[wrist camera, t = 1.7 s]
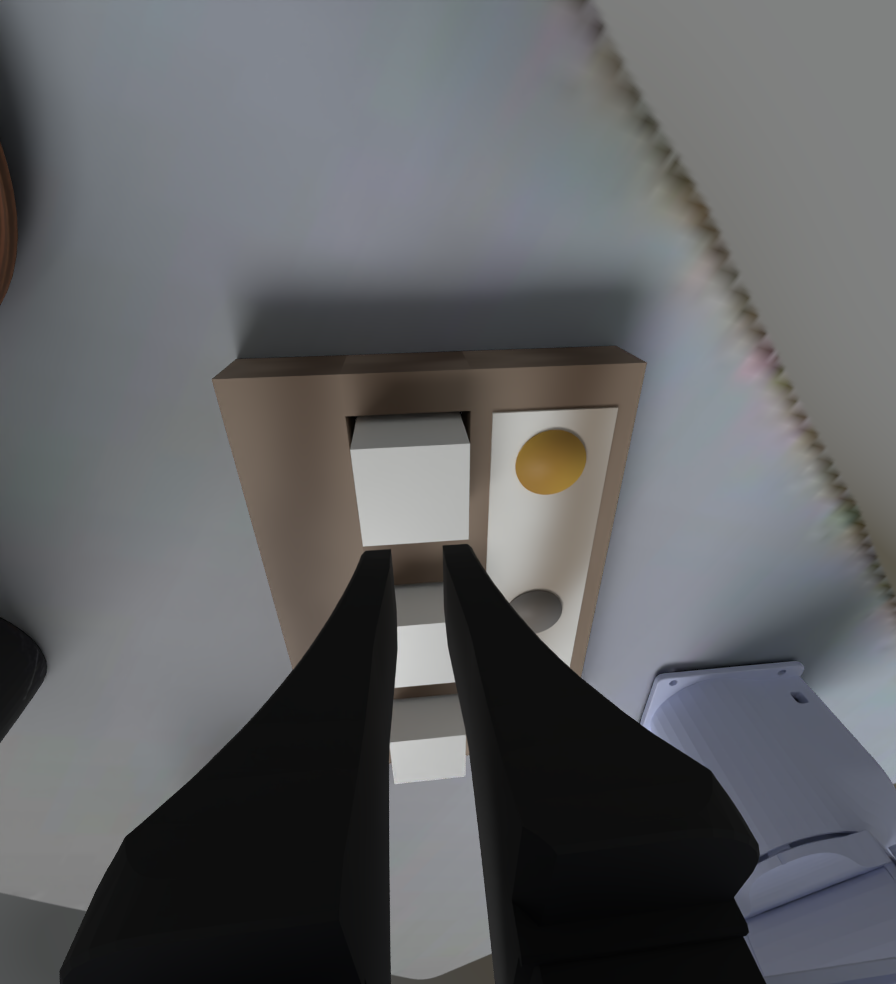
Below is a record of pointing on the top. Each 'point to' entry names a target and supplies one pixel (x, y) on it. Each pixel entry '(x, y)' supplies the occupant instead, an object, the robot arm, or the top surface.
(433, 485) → the button front
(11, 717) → the travel mug
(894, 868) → the robot arm
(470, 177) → the top surface
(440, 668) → the button middle
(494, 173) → the top surface
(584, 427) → the button board
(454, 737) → the button back
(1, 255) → the cup and saucer
